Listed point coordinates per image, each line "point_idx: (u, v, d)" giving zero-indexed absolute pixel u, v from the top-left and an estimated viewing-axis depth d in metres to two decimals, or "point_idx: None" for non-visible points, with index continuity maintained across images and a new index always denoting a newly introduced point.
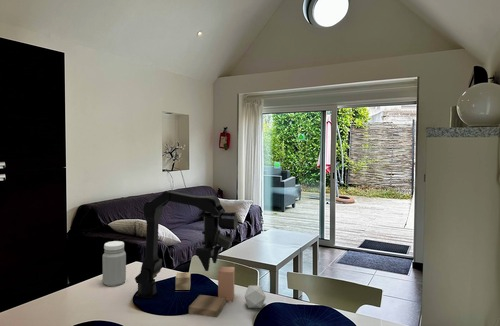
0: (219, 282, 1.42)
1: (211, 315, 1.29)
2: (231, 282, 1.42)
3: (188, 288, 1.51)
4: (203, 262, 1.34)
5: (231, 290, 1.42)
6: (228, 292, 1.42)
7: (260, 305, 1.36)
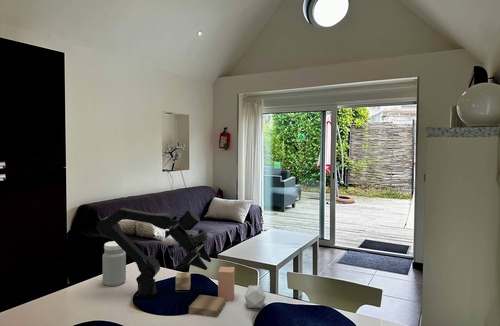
0: (219, 282, 1.42)
1: (211, 315, 1.29)
2: (231, 282, 1.42)
3: (188, 288, 1.51)
4: (198, 265, 1.39)
5: (231, 290, 1.42)
6: (228, 292, 1.42)
7: (260, 305, 1.36)
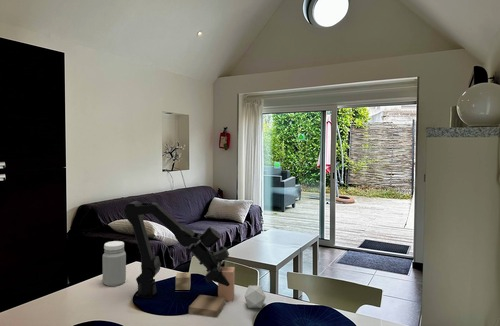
0: None
1: (211, 315, 1.29)
2: (231, 282, 1.42)
3: (188, 288, 1.51)
4: (220, 281, 1.41)
5: (231, 290, 1.42)
6: (228, 292, 1.42)
7: (260, 305, 1.36)
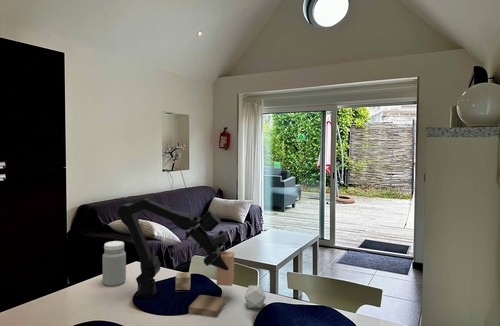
0: None
1: (211, 315, 1.29)
2: (230, 266, 1.41)
3: (188, 288, 1.51)
4: (219, 265, 1.39)
5: (230, 274, 1.41)
6: (227, 276, 1.41)
7: (260, 305, 1.36)
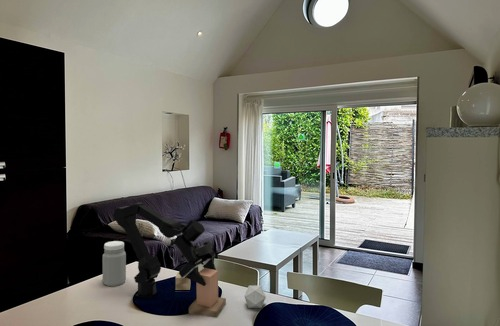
0: (197, 285, 1.33)
1: (211, 316, 1.29)
2: (208, 287, 1.31)
3: (188, 288, 1.51)
4: (195, 279, 1.30)
5: (209, 295, 1.31)
6: (206, 297, 1.32)
7: (260, 305, 1.36)
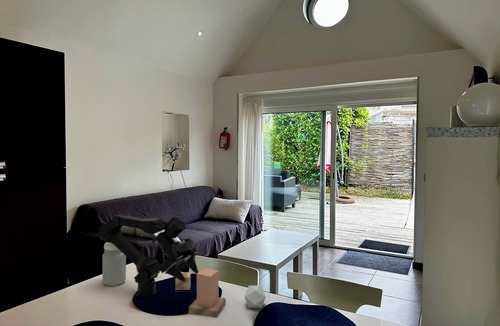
0: (197, 285, 1.33)
1: (211, 315, 1.29)
2: (208, 287, 1.31)
3: (188, 288, 1.51)
4: (175, 275, 1.34)
5: (209, 295, 1.31)
6: (206, 297, 1.32)
7: (260, 305, 1.36)
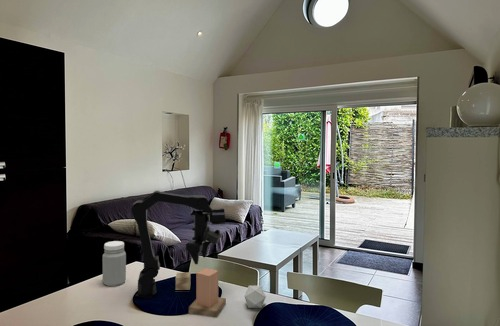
0: (197, 284, 1.34)
1: (211, 315, 1.29)
2: (208, 286, 1.31)
3: (188, 288, 1.51)
4: (193, 256, 1.46)
5: (208, 295, 1.31)
6: (205, 297, 1.32)
7: (260, 305, 1.36)
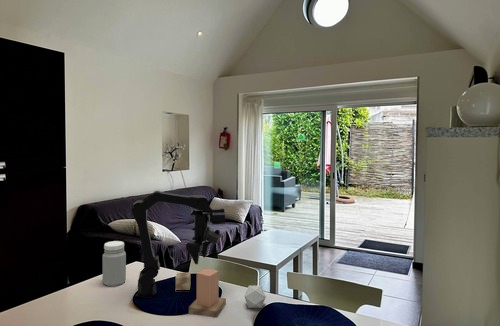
0: (197, 284, 1.34)
1: (211, 315, 1.29)
2: (208, 286, 1.31)
3: (188, 288, 1.51)
4: (193, 256, 1.46)
5: (208, 295, 1.31)
6: (205, 297, 1.32)
7: (260, 305, 1.36)
